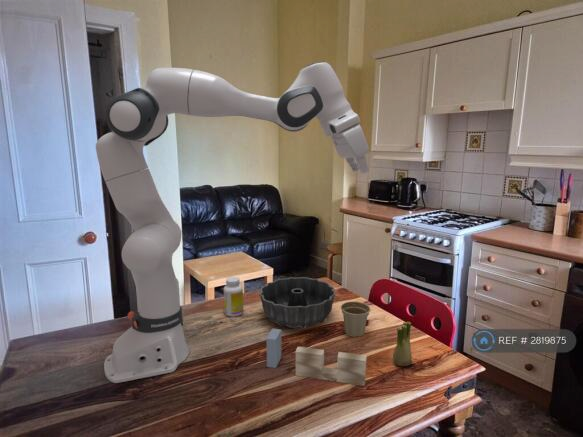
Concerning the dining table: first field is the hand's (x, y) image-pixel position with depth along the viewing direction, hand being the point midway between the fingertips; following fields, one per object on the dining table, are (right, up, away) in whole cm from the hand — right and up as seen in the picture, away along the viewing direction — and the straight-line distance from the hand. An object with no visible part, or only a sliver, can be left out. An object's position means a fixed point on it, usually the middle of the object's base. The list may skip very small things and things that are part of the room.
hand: (360, 171), depth 101 cm
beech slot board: (-8, -54, -2) cm, 55 cm away
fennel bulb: (+12, -53, +4) cm, 55 cm away
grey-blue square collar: (-23, -53, +5) cm, 58 cm away
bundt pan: (-16, -47, +32) cm, 60 cm away
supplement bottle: (-39, -47, +35) cm, 70 cm away
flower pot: (+2, -50, +21) cm, 54 cm away
